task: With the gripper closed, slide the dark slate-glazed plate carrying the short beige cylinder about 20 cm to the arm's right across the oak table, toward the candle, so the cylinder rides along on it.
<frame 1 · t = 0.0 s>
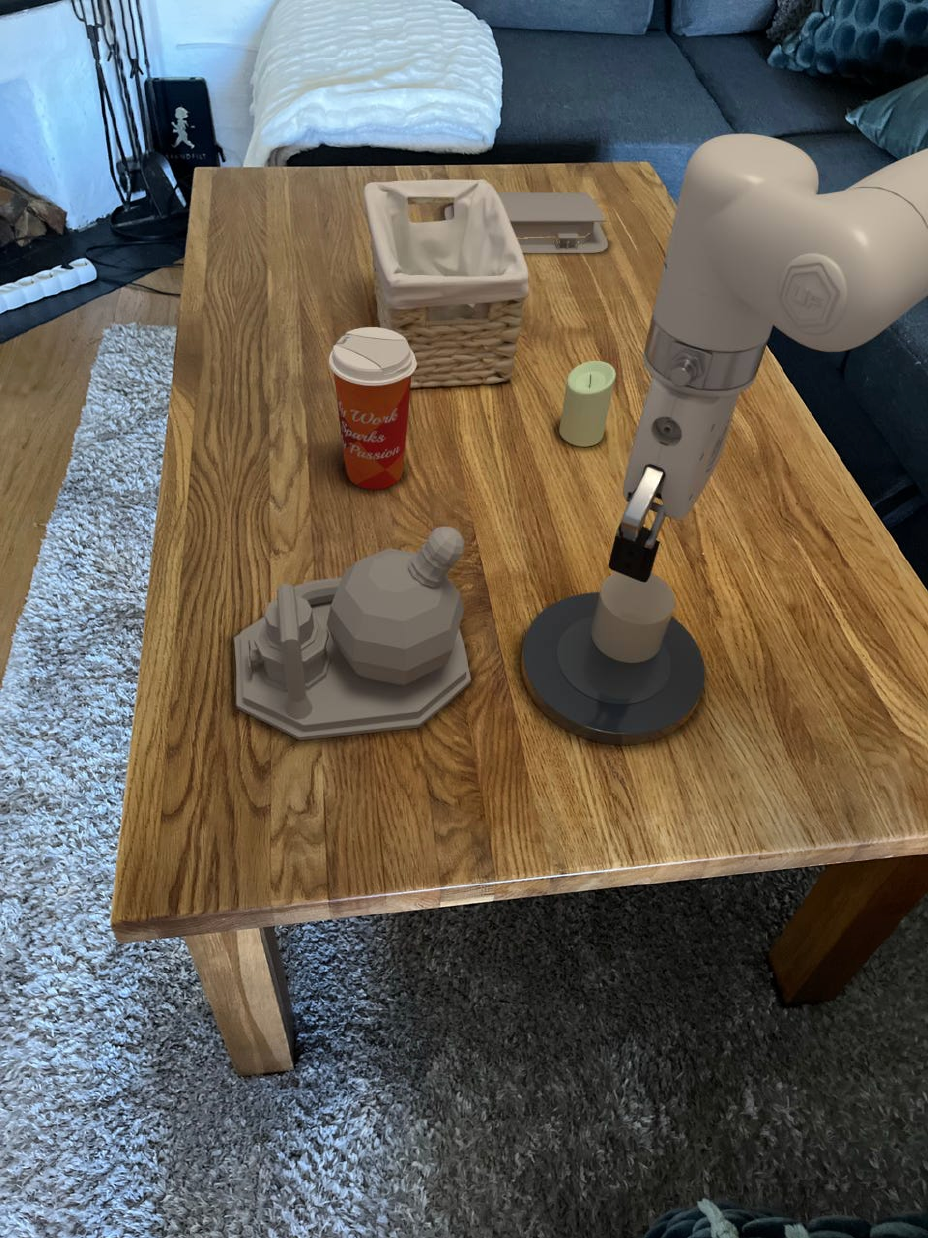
hand: (651, 535, 74), 14 cm above the table, tool pointing down, fingers open, 9 cm apart
plate: (610, 669, 83), on the table, touching short beige cylinder
grey faceted model: (352, 663, 82), on the table
basket: (438, 340, 117), on the table
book: (524, 228, 138), on the table
coffee cup: (375, 473, 99), on the table
short beige cylinder: (626, 635, 84), point 2 cm above the table, touching plate
candle: (580, 434, 106), on the table
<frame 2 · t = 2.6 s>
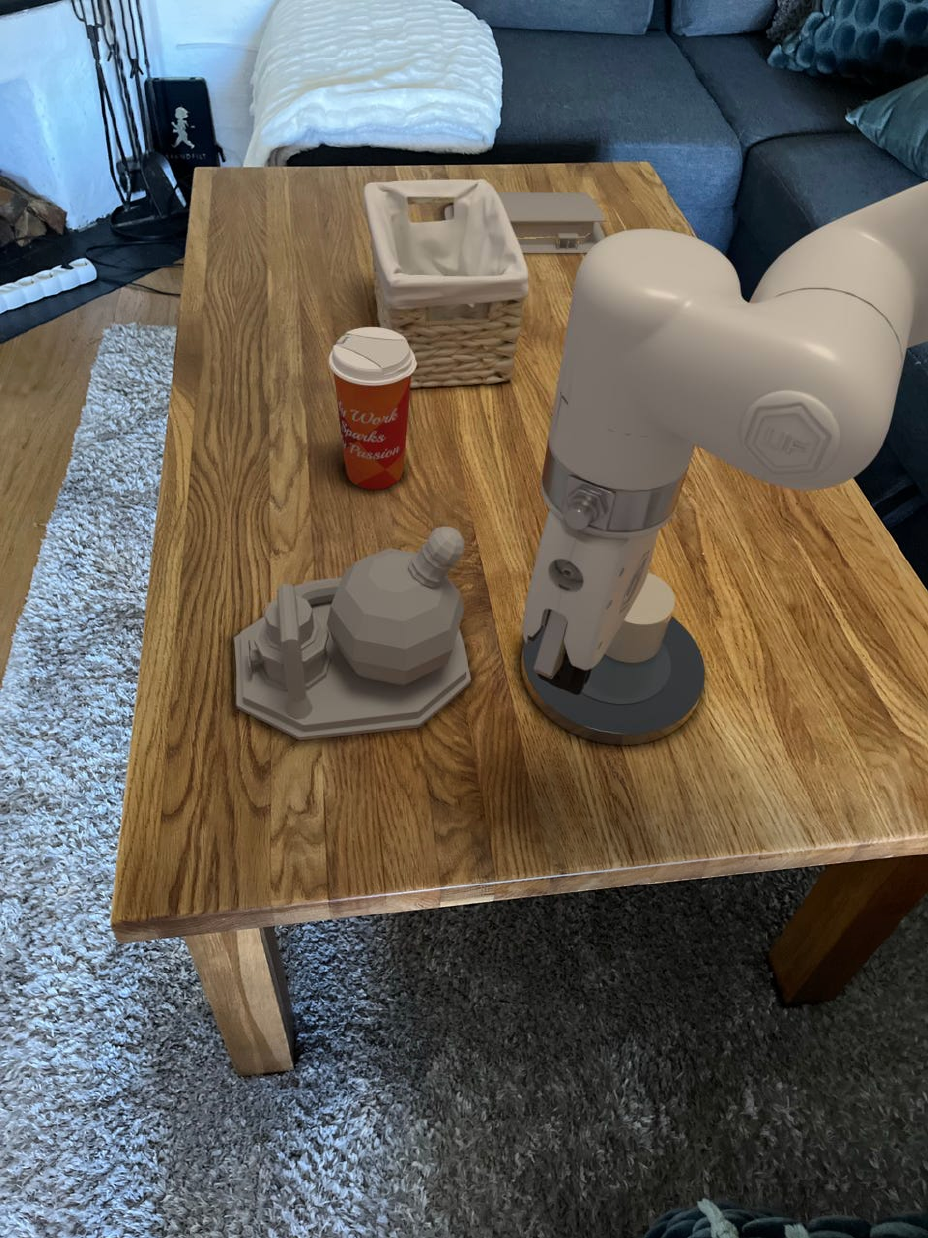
hand: (562, 678, 64), 14 cm above the table, tool pointing down, fingers closed
nothing on the table moved.
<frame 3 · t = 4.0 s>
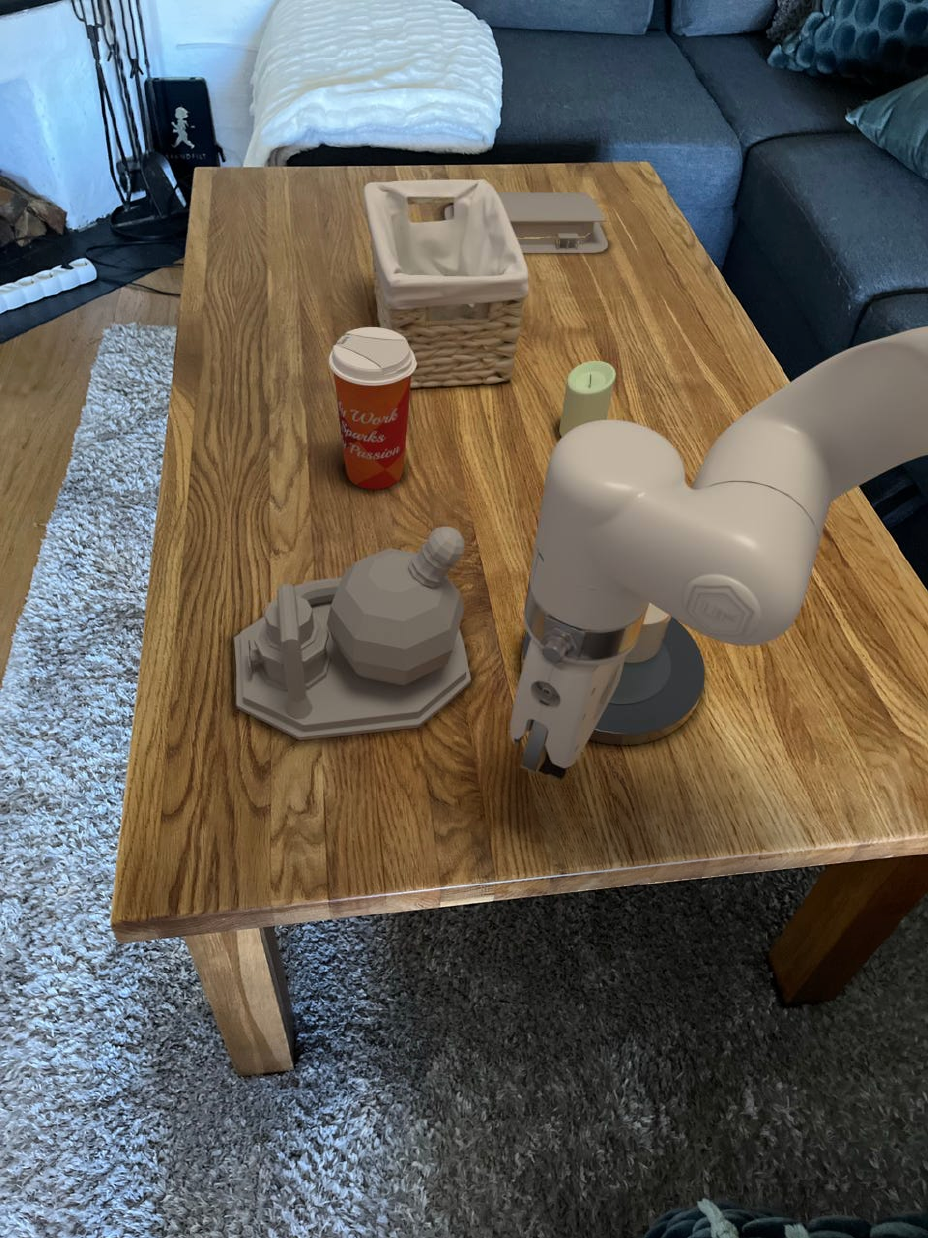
hand: (548, 763, 73), 3 cm above the table, tool pointing down, fingers closed
nothing on the table moved.
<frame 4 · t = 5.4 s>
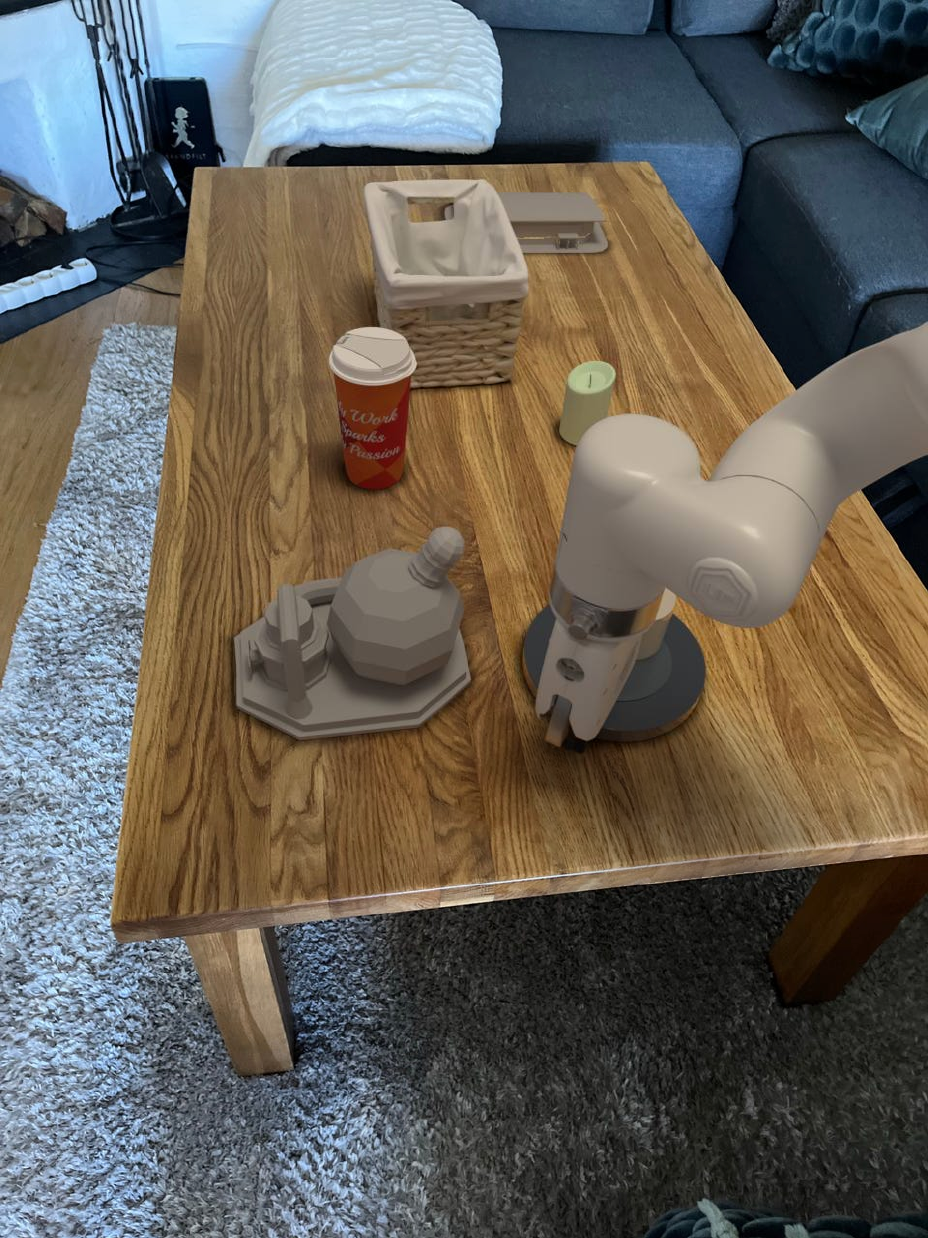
hand: (568, 739, 77), 1 cm above the table, tool pointing down, fingers closed
plate: (611, 667, 83), on the table, touching gripper, short beige cylinder
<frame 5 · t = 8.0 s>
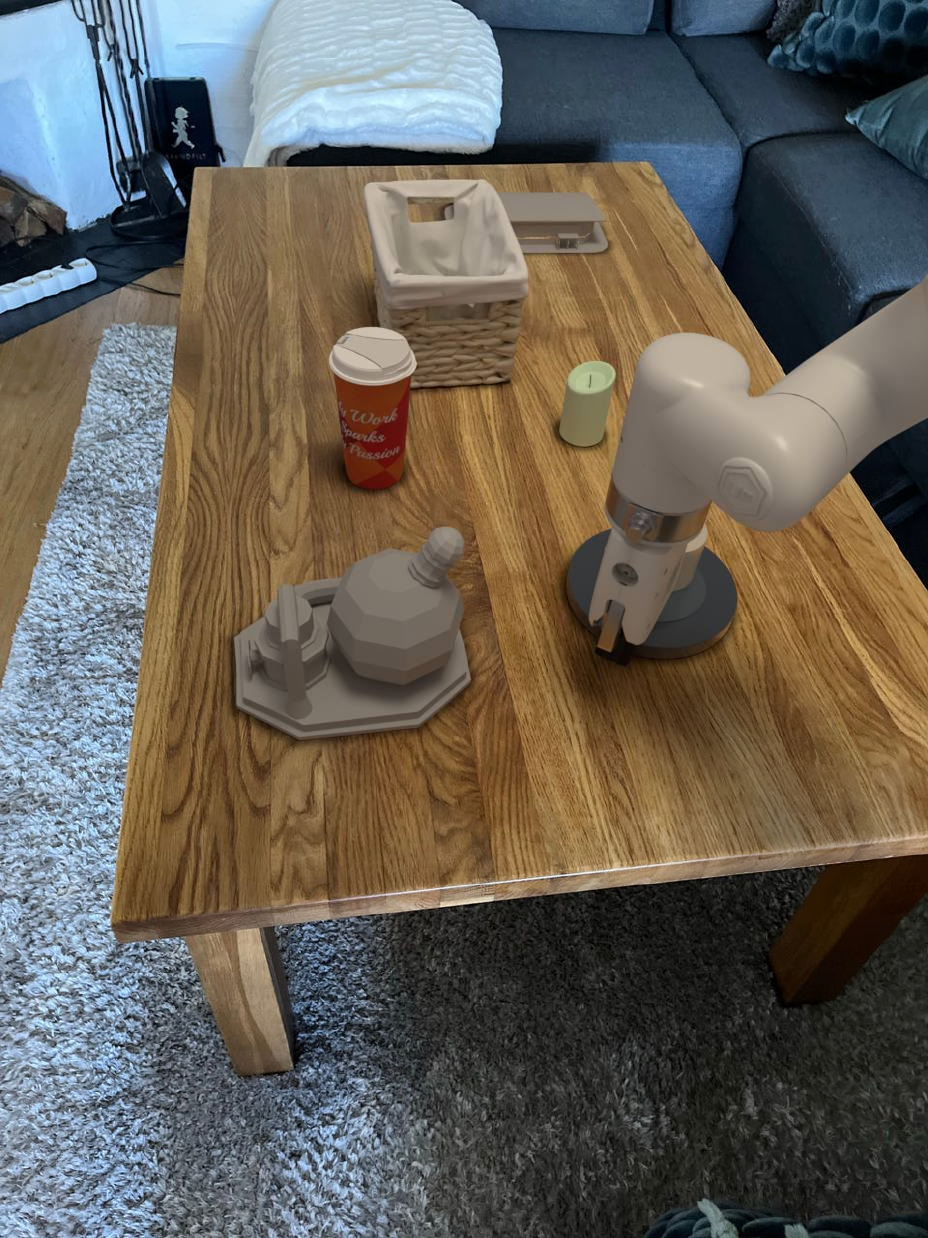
hand: (614, 654, 83), 1 cm above the table, tool pointing down, fingers closed
plate: (649, 594, 89), on the table, touching gripper
short beige cylinder: (660, 567, 89), point 2 cm above the table
everything else where it was.
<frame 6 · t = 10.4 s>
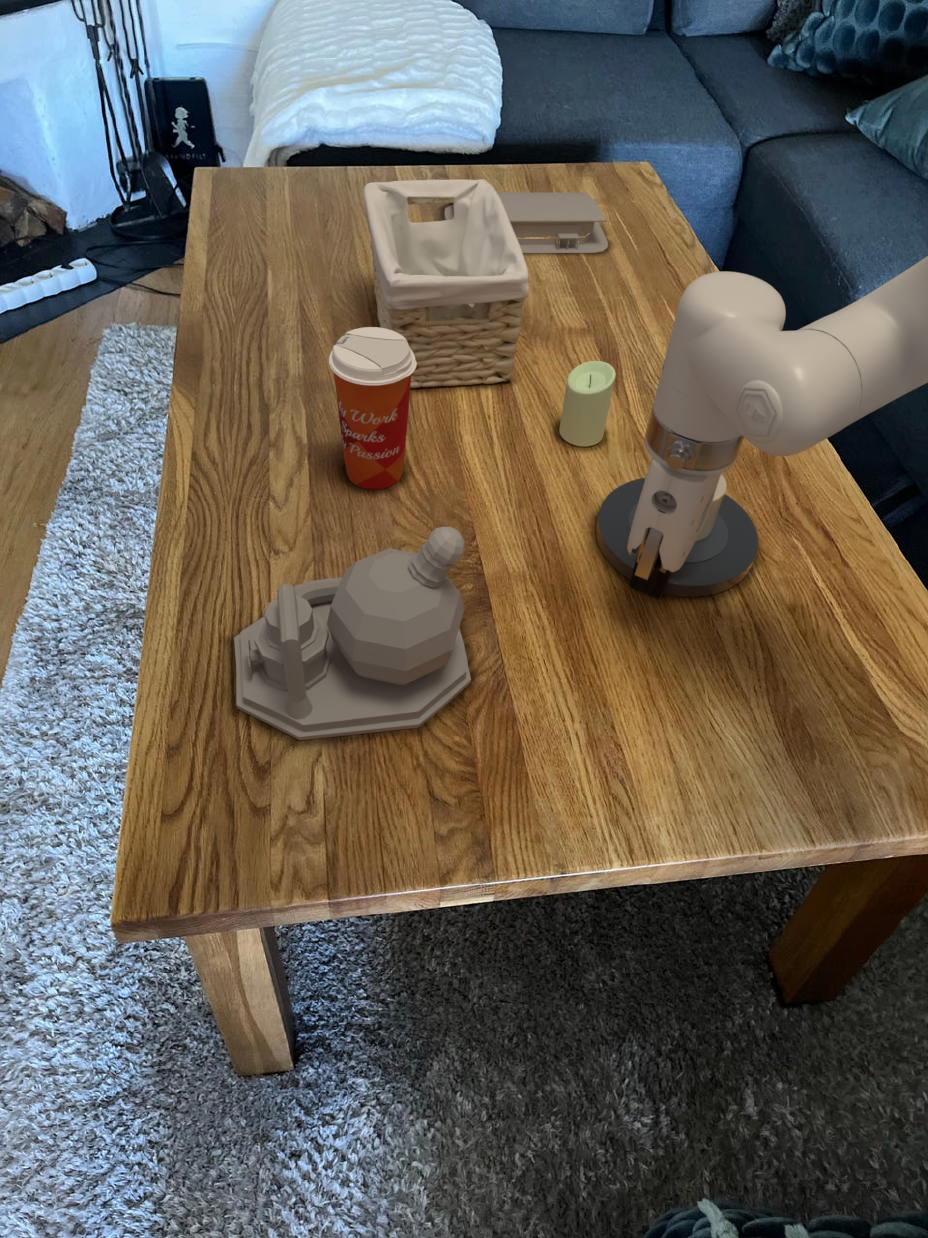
hand: (647, 588, 88), 1 cm above the table, tool pointing down, fingers closed
plate: (674, 539, 95), on the table, touching gripper, short beige cylinder
short beige cylinder: (681, 520, 94), point 2 cm above the table, touching plate
everything else where it was.
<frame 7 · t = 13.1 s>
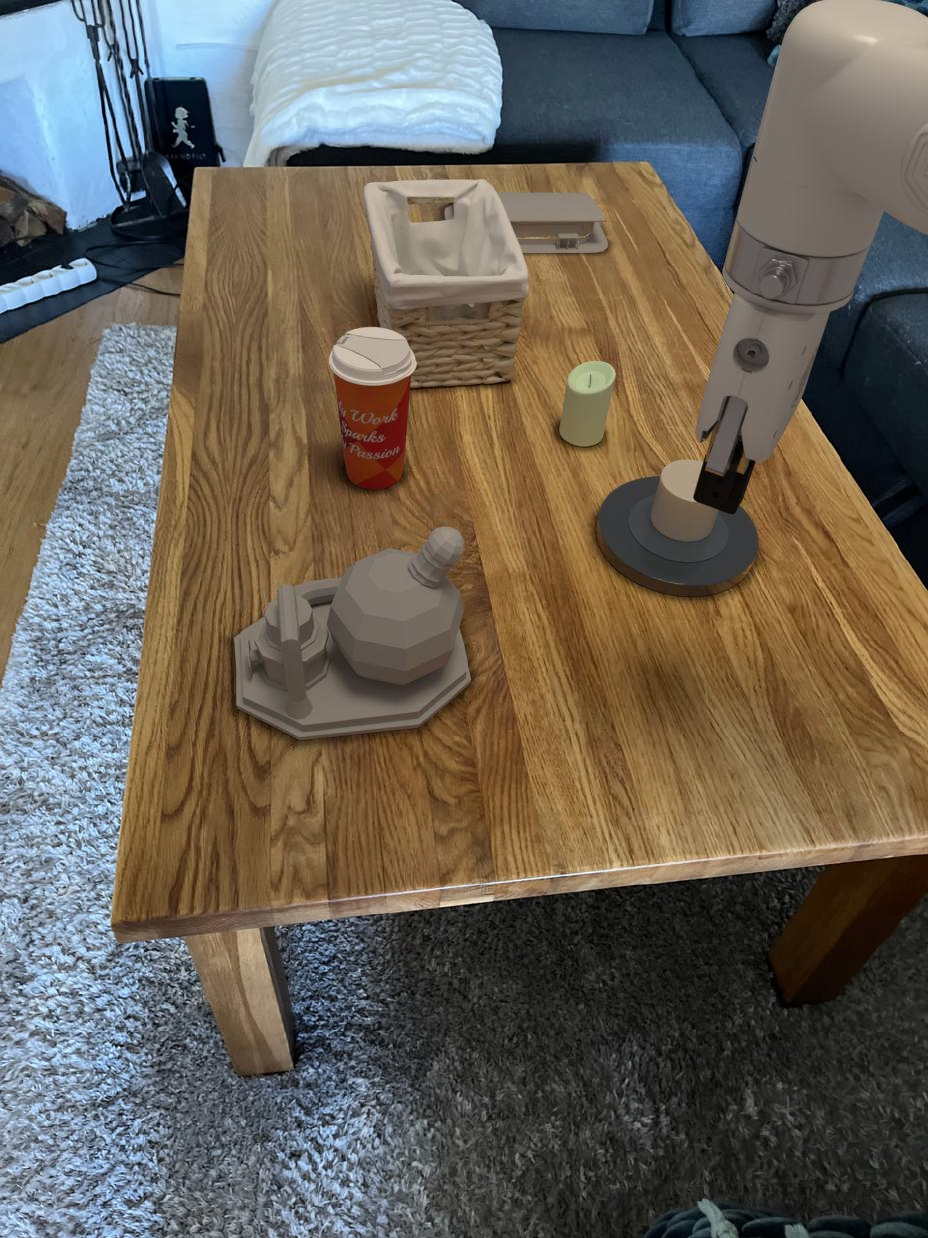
hand: (716, 501, 67), 21 cm above the table, tool pointing down, fingers closed
plate: (674, 538, 95), on the table, touching short beige cylinder
everything else where it was.
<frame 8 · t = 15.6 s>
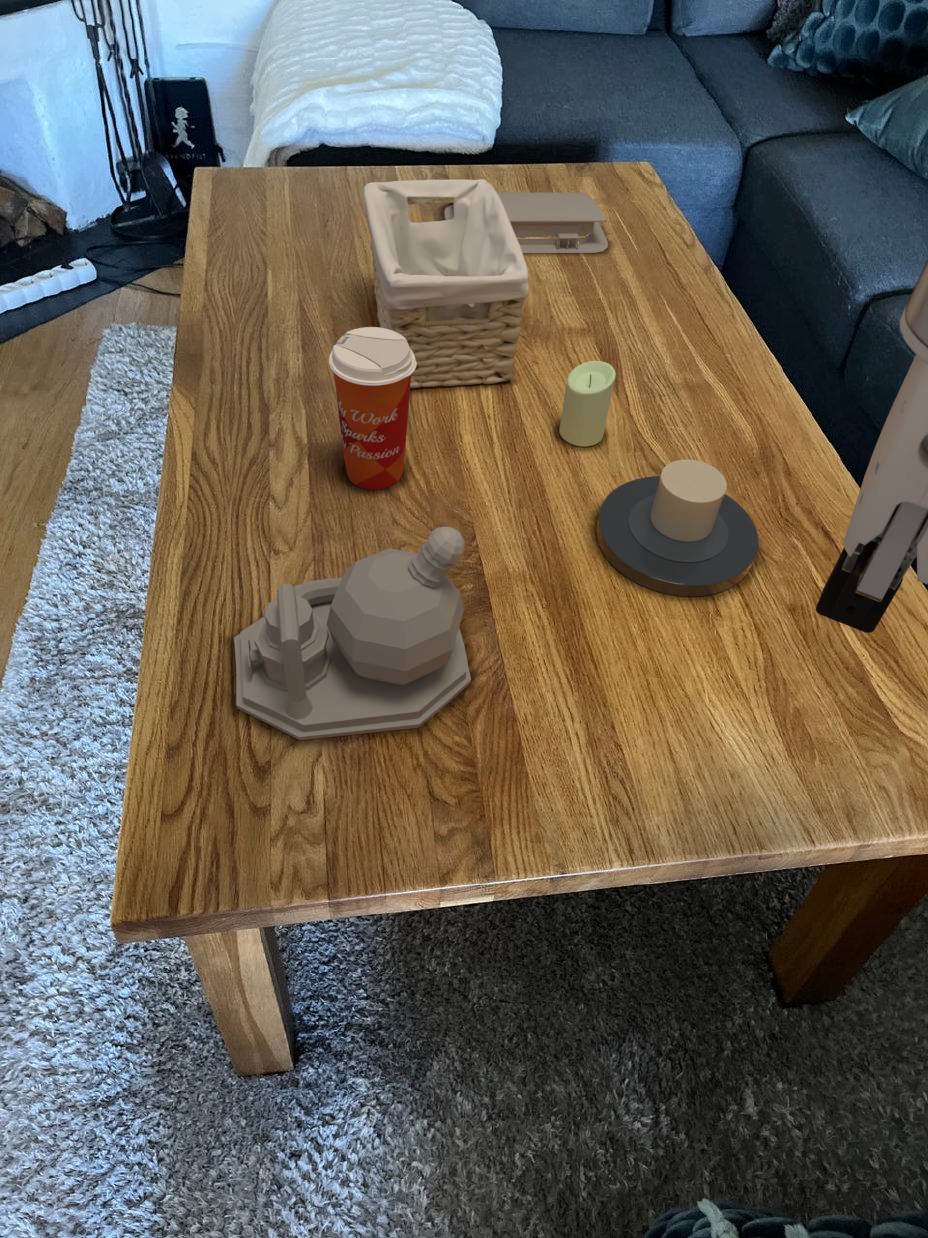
hand: (845, 613, 52), 27 cm above the table, tool pointing down, fingers closed
nothing on the table moved.
at the end: plate inside the target area (1.2 cm from its centre), on the table; short beige cylinder 1.1 cm from the plate (horizontally); plate 18.6 cm from the candle (horizontally) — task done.
